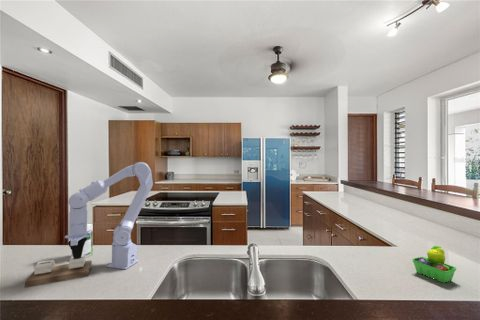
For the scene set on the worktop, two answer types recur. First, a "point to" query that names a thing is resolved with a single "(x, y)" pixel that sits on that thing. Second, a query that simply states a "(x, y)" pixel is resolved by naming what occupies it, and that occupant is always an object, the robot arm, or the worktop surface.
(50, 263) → the knob outer
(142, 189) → the robot arm
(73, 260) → the white square block
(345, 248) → the worktop surface
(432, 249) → the fruit basket
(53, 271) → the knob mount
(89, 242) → the syrup box
